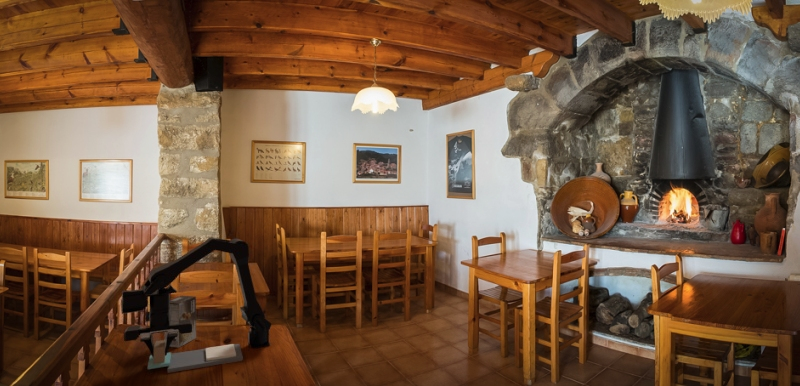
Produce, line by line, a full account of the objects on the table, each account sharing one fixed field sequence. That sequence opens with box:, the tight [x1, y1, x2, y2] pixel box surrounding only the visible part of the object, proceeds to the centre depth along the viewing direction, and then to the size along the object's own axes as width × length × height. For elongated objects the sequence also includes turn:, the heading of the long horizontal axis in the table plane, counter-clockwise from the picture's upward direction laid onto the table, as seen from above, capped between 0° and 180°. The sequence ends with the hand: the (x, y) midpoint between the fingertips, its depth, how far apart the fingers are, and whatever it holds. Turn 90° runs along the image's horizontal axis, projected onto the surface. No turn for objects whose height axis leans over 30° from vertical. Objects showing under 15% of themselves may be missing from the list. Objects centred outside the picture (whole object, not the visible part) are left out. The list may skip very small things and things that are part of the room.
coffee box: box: [163, 295, 197, 348], centre depth 154 cm, size 9×6×16 cm
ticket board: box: [167, 343, 244, 374], centre depth 141 cm, size 22×12×2 cm, turn 116°
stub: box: [147, 339, 172, 370], centre depth 135 cm, size 6×9×6 cm, turn 26°
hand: (159, 356), depth 135 cm, fingers closed on stub, 3 cm apart
